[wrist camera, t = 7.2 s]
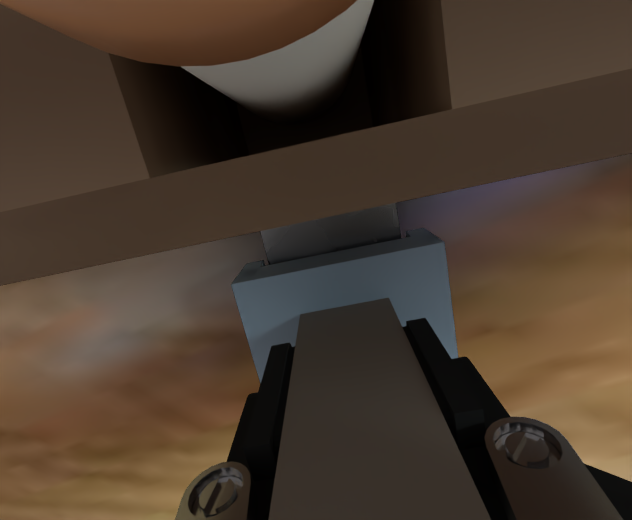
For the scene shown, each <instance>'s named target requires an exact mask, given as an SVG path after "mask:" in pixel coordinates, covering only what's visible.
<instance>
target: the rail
mask: <svg viewBox="0 0 632 520" xmlns="http://www.w3.org/2000/svg"><path fill="white" fill-rule="evenodd" d="M260 232H261V236H262V240H263V244H264V247H265V251H266V255H267V259H268V263H269V265H272V264H277V263H282V262H287V261H292V260H297V259H302V258H307V257H312V256H316V255H321V254H326V253H331V252H336V251H341V250H346V249H351V248H356V247H361V246H366V245H371V244H376V243H381V242H386V241H391V240H396V239H401V233H400V227H399V220H398V214H397V207H396V203H392V204H387V205H382V206H378V207H373V208H368V209H363V210H359V211H354V212H349V213H344V214H340V215H335V216H330V217H325V218H320V219H316V220H311V221H306V222H301V223H297V224H292V225H287V226H282V227H278V228H273V229H268V230H263V231H260Z"/></svg>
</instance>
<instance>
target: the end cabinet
mask: <svg viewBox="0 0 632 520" xmlns="http://www.w3.org/2000/svg"><path fill="white" fill-rule="evenodd" d="M631 153H632V0H374V2H373V6H372V9H371V12H370V15H369V18H368V21H367V25H366V28H365V31H364V34H363V37H362V40H361V44H360V47H359V50H358V53H357V56H356V59H355V63H354V66H353V69H352V72H351V75H350V78H349V80H348V83H347V85H346V87H345V89H344V91H343V92H342V94H341V95H340V97H339V98H338V100H337V101H336V102H335V103H334V104H333V105H332V106H331V107H330V108H329V109H328V110H326V111H325V112H324V113H322V114H321V115H319V116H317V117H315V118H313V119H311V120H308V121H305V122H302V123H295V124H282V123H276V122H272V121H268V120H266V119H264V118H261V117H259V116H258V115H256V114H254V113H253V112H251V111H249V110H248V109H246V108H245V107H243V106H242V105H240V104H238V103H237V102H235V101H234V100H232V99H231V98H229V97H227V96H226V95H224V94H223V93H221V92H220V91H218V90H216V89H215V88H213V87H212V86H210V85H209V84H207V83H205V82H204V81H202V80H201V79H199V78H198V77H196V76H194V75H193V74H191V73H190V72H188V71H186V70H185V69H183V68H182V67H180V66H170V65H162V64H154V63H146V62H140V61H136V60H133V59H129V58H125V57H121V56H118V55H114V54H110V53H107V52H104V51H102V50H99V49H97V48H95V47H92V46H90V45H87V44H85V43H83V42H80V41H78V40H75V39H73V38H71V37H69V36H67V35H65V34H62V33H60V32H58V31H56V30H54V29H52V28H50V27H48V26H46V25H43V24H41V23H39V22H37V21H35V20H33V19H31V18H29V17H27V16H25V15H22V14H20V13H18V12H16V11H14V10H12V9H10V8H8V7H6V6H4V5H1V4H0V286H1V285H6V284H10V283H15V282H20V281H25V280H30V279H34V278H39V277H44V276H49V275H53V274H58V273H63V272H68V271H72V270H77V269H82V268H87V267H92V266H96V265H101V264H106V263H111V262H115V261H120V260H125V259H130V258H134V257H139V256H144V255H149V254H154V253H158V252H163V251H168V250H173V249H177V248H182V247H187V246H192V245H196V244H201V243H206V242H211V241H216V240H220V239H225V238H230V237H235V236H239V235H244V234H249V233H254V232H258V231H263V230H268V229H273V228H278V227H282V226H287V225H292V224H297V223H301V222H306V221H311V220H316V219H320V218H325V217H330V216H335V215H340V214H344V213H349V212H354V211H359V210H363V209H368V208H373V207H378V206H382V205H387V204H392V203H397V202H402V201H406V200H411V199H416V198H421V197H425V196H430V195H435V194H440V193H445V192H449V191H454V190H459V189H464V188H468V187H473V186H478V185H483V184H487V183H492V182H497V181H502V180H507V179H511V178H516V177H521V176H526V175H530V174H535V173H540V172H545V171H549V170H554V169H559V168H564V167H569V166H573V165H578V164H583V163H588V162H592V161H597V160H602V159H607V158H611V157H616V156H621V155H626V154H631Z"/></svg>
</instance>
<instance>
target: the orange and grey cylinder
mask: <svg viewBox="0 0 632 520" xmlns="http://www.w3.org/2000/svg"><path fill="white" fill-rule="evenodd" d="M373 2H374V0H0V4H1V5H4V6H6V7H8V8H10V9H12V10H14V11H16V12H18V13H20V14H22V15H25V16H27V17H29V18H31V19H33V20H35V21H37V22H39V23H41V24H43V25H46V26H48V27H50V28H52V29H54V30H56V31H58V32H60V33H62V34H65V35H67V36H69V37H71V38H73V39H75V40H78V41H80V42H83V43H85V44H87V45H90V46H92V47H95V48H97V49H99V50H102V51H104V52H107V53H110V54H114V55H118V56H121V57H125V58H129V59H133V60H136V61H140V62H146V63H154V64H162V65H170V66H180V67H182V68H183V69H185V70H186V71H188V72H190V73H191V74H193V75H194V76H196V77H198V78H199V79H201V80H202V81H204V82H205V83H207V84H209V85H210V86H212V87H213V88H215V89H216V90H218V91H220V92H221V93H223V94H224V95H226V96H227V97H229V98H231V99H232V100H234V101H235V102H237V103H238V104H240V105H242V106H243V107H245V108H246V109H248V110H249V111H251V112H253V113H254V114H256V115H258V116H259V117H261V118H264V119H266V120H268V121H272V122H276V123H282V124H295V123H302V122H305V121H308V120H311V119H313V118H315V117H317V116H319V115H321V114H322V113H324V112H325V111H326V110H328V109H329V108H330V107H331V106H332V105H333V104H334V103H335V102H336V101H337V100H338V98H339V97H340V95H341V94H342V92H343V91H344V89H345V87H346V85H347V83H348V80H349V78H350V75H351V72H352V69H353V66H354V63H355V59H356V56H357V53H358V50H359V47H360V44H361V40H362V37H363V34H364V31H365V28H366V25H367V21H368V18H369V15H370V12H371V9H372V6H373Z"/></svg>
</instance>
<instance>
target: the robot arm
mask: <svg viewBox="0 0 632 520" xmlns="http://www.w3.org/2000/svg"><path fill="white" fill-rule="evenodd" d="M403 330H404V332H405V334H406V336H407V338H408V340H409V343H410V345H411V347H412V349H413V351H414V353H415V356H416V358H417V360H418V362H419V364H420V367H421V369H422V371H423V373H424V375H425V377H426V380H427V382H428V384H429V386H430V388H431V390H432V393H433V395H434V397H435V399H436V401H437V403H438V406H439V408H440V410H441V412H442V414H443V416H444V419H445V421H446V423H447V425H448V427H449V429H450V432H451V434H452V436H453V438H454V440H455V442H456V445H457V447H458V449H459V451H460V453H461V455H462V458H463V460H464V462H465V464H466V466H467V468H468V471H469V473H470V475H471V477H472V479H473V481H474V484H475V486H476V488H477V490H478V492H479V494H480V497H481V499H482V501H483V503H484V505H485V507H486V510H487V512H488V514H489V516H490V518H491V520H632V482H630V481H628V480H625V479H622V478H620V477H617V476H615V475H612V474H610V473H607V472H604V471H602V470H599V469H597V468H594V467H591V466H589V465H586V464H584V463H583V462H582V460H581V459H580V457H579V456H578V455H577V453H576V452H575V450H574V449H573V448H572V446H571V445H570V443H569V442H568V441H567V439H566V438H565V437H564V436H563V435H562V434H561V433H560V432H559V431H557V430H556V429H554V428H553V427H551V426H550V425H548V424H545V423H543V422H540V421H538V420H535V419H530V418H526V417H510V415H509V414H508V413H507V411H506V410H505V409H504V407H503V406H502V404H501V403H500V402H499V400H498V399H497V397H496V396H495V395H494V393H493V392H492V390H491V389H490V388H489V386H488V385H487V383H486V382H485V381H484V379H483V378H482V377H481V375H480V374H479V372H478V371H477V370H476V368H475V367H474V365H473V364H472V363H471V361H470V360H469V359H468V358H467V357H460V358H454V359H451V357H450V356H449V354H448V352H447V351H446V349H445V348H444V346H443V345H442V343H441V341H440V340H439V338H438V337H437V335H436V333H435V332H434V330H433V329H432V327H431V326H430V324H429V322H428V321H427V319H426V318H420V319H415V320H409V321H406V326H404V327H403ZM294 351H295V346H294V347H292V346H291V344H290V342H289V343H284V344H278V345H273V346H271V349H270V352H269V356H268V359H267V363H266V367H265V370H264V374H263V377H262V381H261V384H260V388H259V391H258V393H252V394H249V395H248V397H247V400H246V403H245V406H244V409H243V412H242V415H241V418H240V422H239V425H238V428H237V431H236V434H235V437H234V440H233V443H232V446H231V450H230V453H229V456H228V459H227V462H222V463H219V464H217V465H214V466H212V467H210V468H208V469H207V470H205V471H203V472H202V473H201V474H200V475H198V476H197V477H196V478H195V479H194V480H193V481H192V482H191V484H190V485H189V486H188V487H187V489H186V490H185V493H184V495H183V497H182V499H181V502H180V505H179V508H178V512H177V515H176V518H175V520H268V519H269V512H270V506H271V500H272V493H273V487H274V480H275V474H276V467H277V461H278V454H279V448H280V441H281V435H282V428H283V422H284V416H285V409H286V403H287V396H288V390H289V383H290V377H291V370H292V364H293V357H294Z"/></svg>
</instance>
